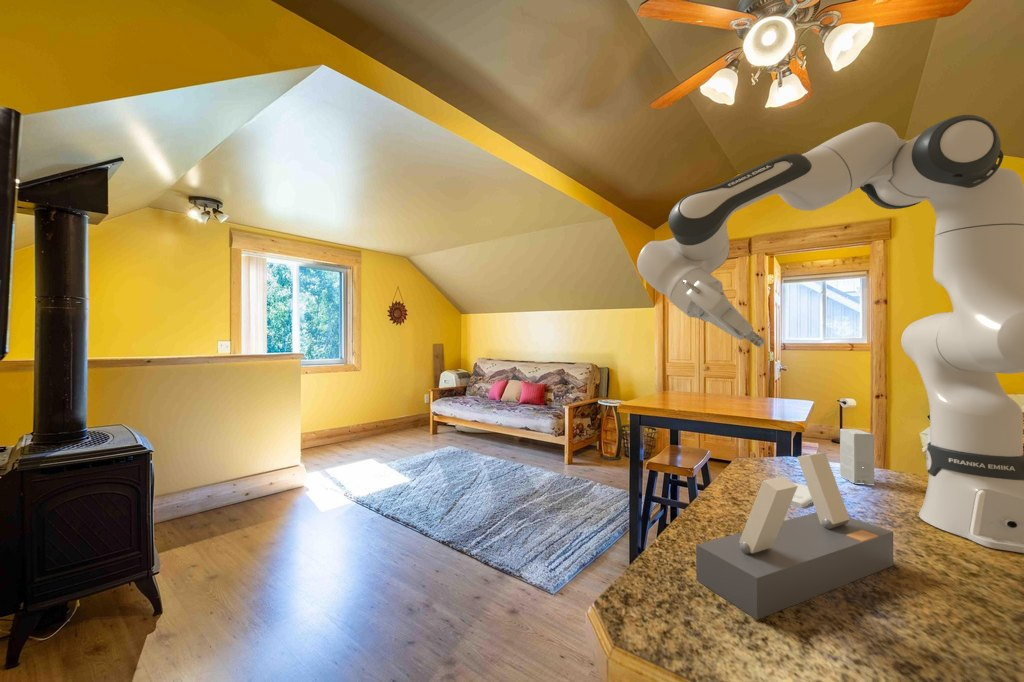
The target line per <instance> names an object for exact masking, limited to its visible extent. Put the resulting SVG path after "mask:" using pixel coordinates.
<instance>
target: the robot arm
mask: <svg viewBox="0 0 1024 682" xmlns="http://www.w3.org/2000/svg"><path fill="white" fill-rule="evenodd" d="M1000 138H1001V137H1000V135H999V133H998V131H997V129H996V128H995V126H994V125H993V124H992V123H991V122H990V121H989V120H988V119H986V118H984V117H982V116H979V115H974V114H963V115H957V116H954V117H952V116H951V117H949V118H947V119H944V120H942V121H939V122H936V123H935V124H933V125H931V126H929V127H928V128H926V129H925V130H924V131H922V132H921V133H920V134H918V135H916V136H915V137H913V138H911V139H910V140H909V141H908V139H903V138H901V137H899V136H898V133H897V132H896V131H895V130H894V128H893V127H891V126H890V125H888V124H886V123H885V122H883V123H882V122H879V121H871V122H867V123H863V124H860V125H859V126H856V127H853V128H851V129H849V130H846V131H844V132H842V133H840V134H838V135H836V136H834V137H832V138H830V139H828V140H826V141H824V142H823V143H821V144H819V145H817V146H816V147H813V148H812V149H811V150H809V151H807V152H805V153H802V154H800V153H787V154H783V155H781V156H778V157H777V156H776V157H775V158H773V159H770V160H768V161H765V162H764V163H762V164H759V165H758V166H754V167H753V168H750V169H748V170H746V171H744V172H742V173H740V174H737V175H735V176H734V177H732V178H730V179H728V180H725V181H724V182H721V183H719V184H717V185H714V186H712V187H708V188H706V189H702V190H699V191H698V190H697V191H695V192H692V193H690V194H688V195H686V196H684V197H682V198H681V199H680V200H679V201H678V202H677V203H675V205H674V206H673V207H672V209H671V210H670V213H669V215H668V221H667V222H668V226H669V230H670V231H671V234H672V236H673V237H672V238H669V239H666V240H665V239H664V240H652V241H648V243H647V244H645V245H644V247H642V249H641V251H639V252H640V253H639V254H638V257H637V262H636V268H637V272H638V273H639V275H640V276H641V278H643V280H644V281H645V282H646V283H647V284H648V285H650V286H651V287H652V288H653V289H654V290H656V292H658V293H660V294H662V295H664V296H666V298H668V300H669V302H670V303H671V304H672V305H674V306H675V307H676V308H678V310H680V311H681V312H682V313H683V314H685V315H686V316H687V317H689V318H694V319H695V318H696V319H699V320H701V321H702V322H704V323H711V324H712V325H713V326H716V327H717V328H719V329H720V330H721V331H723V332H725V333H727V334H728V335H730V336H731V337H733V338H735V339H737V340H739V341H742V340H746V341H747V342H749V343H751V344H752V345H754V346H755V347H756V348H762V346H764V345H765V344H766V339H764V338H763V337H762V336H760V335H759V334H757V332H755V331H754V327H753V325H752V324H751V323H750V322H749V321H748V320H747V319H746V318H745V317H744V316H743V315H742V314H741V313H740V311H739V310H738V309H736V307H735V306H734V305H733V304H732V303H731V302H730V301H729V299H728V297H727V296H726V294H725V292H724V289H723V282H722V281H721V280H719V279H718V278H716V277H715V276H714V275H712V273H713V272H715V271H716V270H717V269H718V268H720V267H721V266H722V265H723V264H725V262H726V261H727V260H728V258H729V255H730V238H729V233H728V226H727V223H728V221H729V220H730V218H731V217H732V215H733V214H735V213H736V212H737V211H740V210H741V209H744V208H746V207H748V206H751V205H753V204H755V203H757V202H759V201H762V200H764V199H765V198H767V197H770V196H773V195H778V196H779V197H780V198H781V200H783V202H785V203H786V204H787V205H788V206H790V207H792V208H793V209H796V210H800V211H804V212H805V211H806V212H812V211H816V210H818V209H822V208H825V207H827V206H829V205H831V204H833V203H836V202H837V201H839V200H841V198H844V197H845V196H847V195H849V194H851V193H852V192H855V191H856V190H857V189H860V190H861V191H862V192H863V193H864V194H866V195H867V197H868V199H870V201H871V202H873V203H874V204H875V205H877V206H878V207H880V208H882V209H887V210H900V209H906V208H909V207H910V208H911V207H913V206H916V205H918V204H920V203H922V202H923V201H926V200H927V201H928V202H929V204H930V205H931V206H932V209H933V211H934V214H935V219H936V220H935V221H936V222H935V228H934V238H933V239H934V241H933V242H934V243H933V265H932V267H933V268H932V277H933V280H934V281H935V282H936V283H938V285H940V286H942V287H943V288H944V289H945V290H946V293H947V294H948V296H949V300H950V301H951V306H952V311H949V312H938V313H934V314H932V315H928V316H925V317H922V318H920V319H918V320H915V321H913V322H911V323H909V324H908V326H906V327H905V329H904V330H903V332H902V335H901V340H900V343H901V348H902V351H904V353H905V355H906V356H907V357H909V359H911V361H913V364H915V366H916V368H917V370H918V373H919V375H920V378H921V380H922V382H923V386H924V389H925V391H926V396H927V398H928V399H927V400H928V405H929V424H930V425H929V426H930V427H929V429H930V433H929V434H930V435H929V436H930V441H929V442H928V443H927V444H926V445H927V446H926V447H927V448H926V451H925V452H926V455H925V456H926V457H925V459H926V461H925V463H926V464H925V465H926V471H927V472H928V481H927V487H926V492H925V497H924V498H923V499H924V500H923V502H922V506H921V508H920V510H919V512H918V517H919V518H920V519H921V520H922V521H924V522H925V523H927V524H929V525H931V526H933V527H935V528H937V529H940V530H941V531H942V530H943V531H944V532H947V533H950V534H953V535H956V536H959V537H963V538H965V539H968V540H970V541H972V542H974V543H977V544H979V545H981V546H984V547H987V548H989V549H990V548H991V549H995V550H1002V551H1008V552H1009V551H1010V552H1014V553H1015V552H1016V553H1021V554H1024V414H1023V411H1022V407H1021V406H1020V405H1019V404H1018V403H1017V402H1016V401H1015V400H1014V399H1013V398H1011V397H1010V396H1009V395H1008V394H1007V393H1006V391H1005V390H1004V389H1003V386H1002V385H1001V383H1000V381H999V379H998V376H997V374H1021V373H1024V184H1023V183H1024V182H1023V180H1022V178H1021V175H1019V173H1017V172H1016V171H1014V170H1013V169H1010V168H1004V167H1000V166H1001V164H1002V162H1003V159H1004V153H1003V151H1002V150H1001V145H1002V144H1001V139H1000Z"/></svg>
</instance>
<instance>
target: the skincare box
mask: <svg viewBox="0 0 1024 682" xmlns="http://www.w3.org/2000/svg"><path fill="white" fill-rule="evenodd" d="M839 457H840V458H839V459H840V460H839V467H840V468H839V474H840V475H841V476H842V477H844V478H846V479H848V480H850V481H852V482H854V483H864V484H874V485H875V435H874V434H873V433H870V432H867V431H864V430H860V429H857V428H856V429H851V428H840V429H839ZM862 467H864V468H862ZM840 475H839V476H840ZM842 477H841V478H842Z"/></svg>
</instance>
